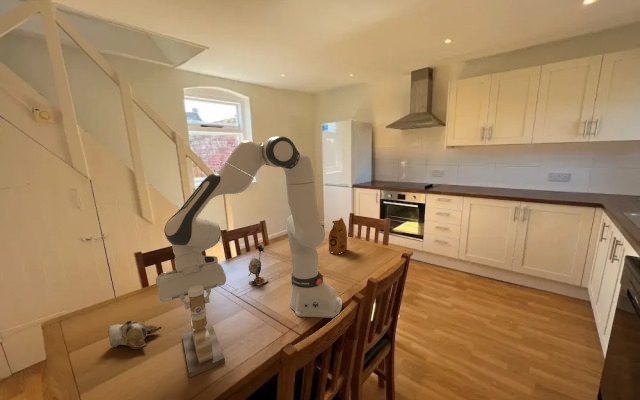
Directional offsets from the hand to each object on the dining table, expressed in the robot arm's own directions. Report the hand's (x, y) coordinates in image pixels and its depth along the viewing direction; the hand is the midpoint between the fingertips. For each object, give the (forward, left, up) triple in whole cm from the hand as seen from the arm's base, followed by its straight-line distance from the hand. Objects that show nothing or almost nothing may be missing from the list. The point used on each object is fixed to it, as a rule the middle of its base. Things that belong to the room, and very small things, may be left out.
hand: (197, 305), depth 82 cm
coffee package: (-25, -97, -17) cm, 102 cm away
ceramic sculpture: (+26, +3, -17) cm, 31 cm away
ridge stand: (0, 0, -16) cm, 16 cm away
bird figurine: (+6, -46, -17) cm, 50 cm away
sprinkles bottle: (0, 0, -8) cm, 8 cm away
